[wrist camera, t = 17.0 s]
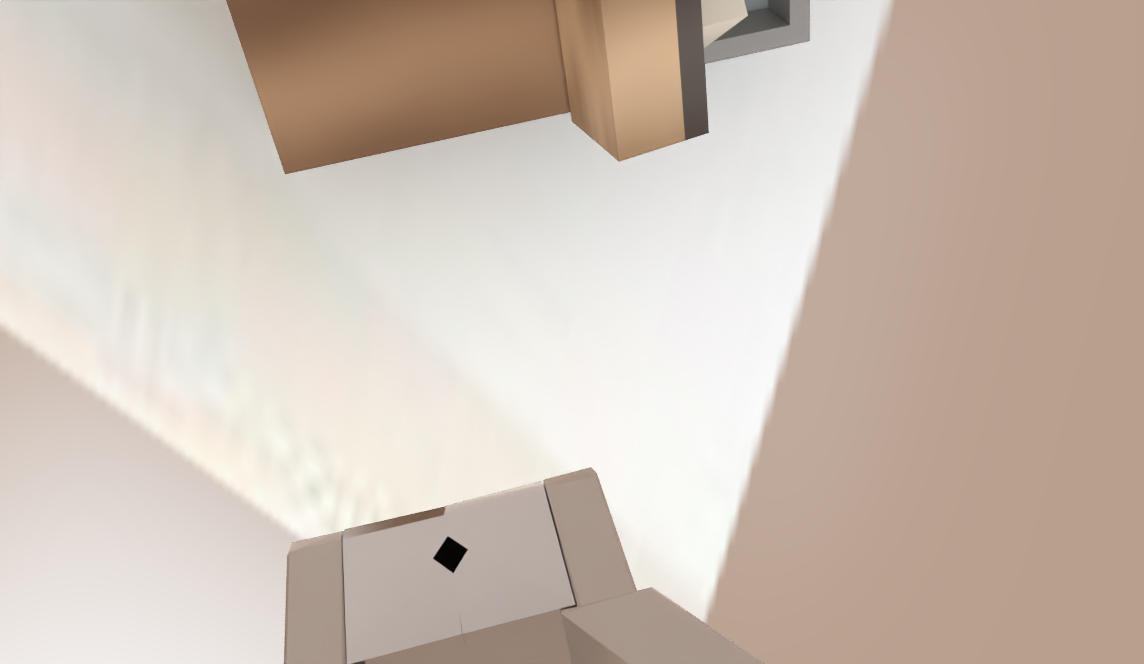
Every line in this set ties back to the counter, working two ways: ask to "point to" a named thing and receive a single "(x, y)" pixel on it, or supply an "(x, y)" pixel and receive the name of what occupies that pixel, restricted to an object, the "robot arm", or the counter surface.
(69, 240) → the counter surface
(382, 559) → the robot arm
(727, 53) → the tray
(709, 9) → the tile
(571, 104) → the tan wooden bar
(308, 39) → the board
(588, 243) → the counter surface
